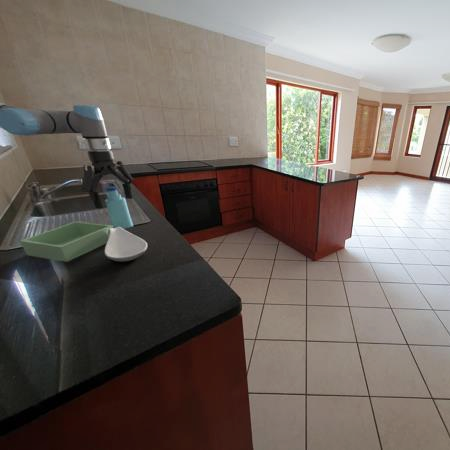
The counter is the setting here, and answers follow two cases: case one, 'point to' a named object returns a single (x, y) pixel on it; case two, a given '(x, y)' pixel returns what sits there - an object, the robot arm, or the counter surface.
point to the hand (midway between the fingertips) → (115, 203)
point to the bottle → (118, 209)
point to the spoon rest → (124, 245)
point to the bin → (67, 241)
